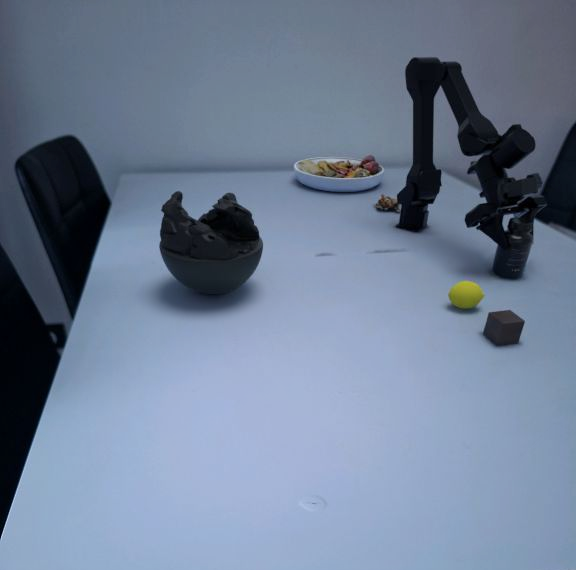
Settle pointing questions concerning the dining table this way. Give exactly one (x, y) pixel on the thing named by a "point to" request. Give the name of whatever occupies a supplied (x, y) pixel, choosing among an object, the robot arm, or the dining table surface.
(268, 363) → the dining table surface
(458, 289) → the lemon
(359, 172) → the bowl
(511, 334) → the walnut block
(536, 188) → the robot arm
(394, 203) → the brown mottled lump
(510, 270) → the supplement bottle
